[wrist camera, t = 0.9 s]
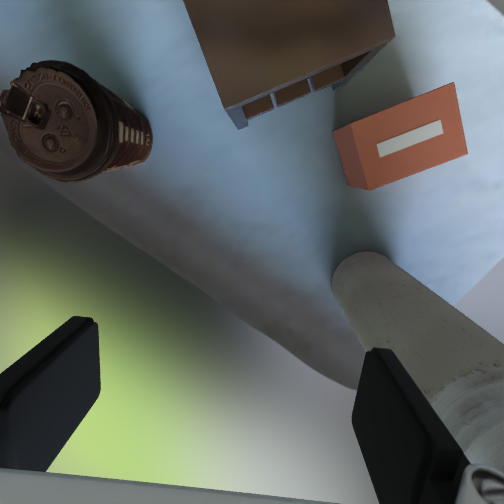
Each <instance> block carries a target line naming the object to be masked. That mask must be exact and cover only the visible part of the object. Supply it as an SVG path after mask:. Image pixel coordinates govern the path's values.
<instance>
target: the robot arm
mask: <svg viewBox="0 0 504 504" xmlns="http://www.w3.org/2000/svg"><path fill="white" fill-rule="evenodd" d="M100 390H101V382H100V358H99V336H98V324H97V323H96V322H94V321H93V319H92V318H90V317H80V316H73V317H71V318H70V319H69V320H68V321H66V322H65V323H64V324H63V325H61V326H60V327H59V328H58V329H56V330H55V331H54V332H52V333H51V334H50V335H49V336H47V337H46V338H45V339H44V340H42V341H41V342H40V343H39V344H37V345H36V346H35V347H34V348H32V349H31V350H30V351H29V352H27V353H26V354H25V355H24V356H22V357H21V358H20V359H19V360H17V361H16V362H15V363H14V364H12V365H11V366H10V367H9V368H7V369H6V370H5V371H3V372H2V373H1V374H0V504H339V503H330V502H321V501H313V500H304V499H295V498H286V497H277V496H269V495H260V494H251V493H242V492H233V491H232V492H231V491H223V490H214V489H205V488H195V487H186V486H177V485H167V484H158V483H149V482H139V481H128V480H119V479H108V478H99V477H89V476H80V475H69V474H60V473H49V472H46V471H47V469H48V468H49V466H50V465H51V463H52V462H53V460H54V459H55V458H56V456H57V455H58V454H59V452H60V451H61V449H62V448H63V447H64V445H65V444H66V442H67V441H68V440H69V438H70V437H71V435H72V434H73V432H74V431H75V430H76V428H77V427H78V425H79V424H80V422H81V421H82V420H83V418H84V417H85V416H86V414H87V413H88V411H89V410H90V409H91V407H92V406H93V404H94V403H95V401H96V400H97V398H98V396H99V394H100ZM352 425H353V428H354V431H355V434H356V437H357V440H358V443H359V446H360V449H361V451H362V454H363V457H364V460H365V463H366V466H367V469H368V472H369V475H370V477H371V480H372V483H373V486H374V489H375V492H376V495H377V498H378V501H379V504H504V472H503V471H501V470H498V469H496V468H494V467H492V466H489V465H485V464H479V463H473V464H471V463H470V461H469V460H468V459H467V457H466V456H465V454H464V453H463V450H462V449H461V447H460V446H459V444H458V443H457V442H456V440H455V439H454V437H453V436H452V435H451V433H450V432H449V430H448V429H447V427H446V426H445V425H444V423H443V422H442V420H441V419H440V417H439V416H438V415H437V413H436V412H435V410H434V409H433V408H432V406H431V405H430V403H429V402H428V400H427V399H426V398H425V396H424V395H423V393H422V392H421V390H420V389H419V388H418V386H417V385H416V383H415V382H414V381H413V379H412V378H411V376H410V375H409V373H408V372H407V371H406V369H405V368H404V366H403V365H402V363H401V362H400V361H399V359H398V358H397V356H396V355H395V353H394V352H393V351H392V350H391V349H386V348H377V347H373V348H372V350H371V351H367V352H366V355H365V359H364V363H363V368H362V372H361V377H360V381H359V385H358V390H357V395H356V399H355V403H354V408H353V412H352Z"/></svg>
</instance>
